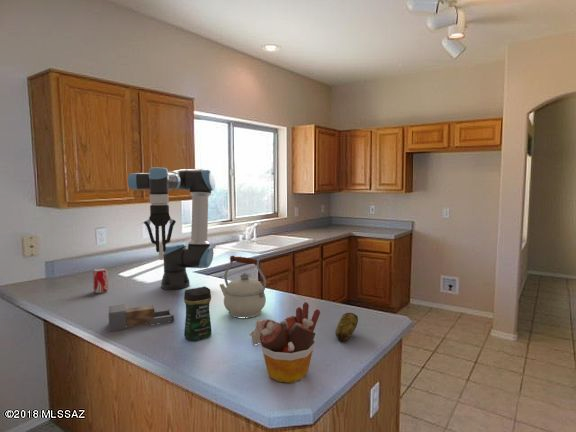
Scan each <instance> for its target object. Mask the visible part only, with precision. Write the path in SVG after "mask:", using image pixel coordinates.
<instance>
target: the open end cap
mask: <svg viewBox="0 0 576 432" xmlns="http://www.w3.org/2000/svg"><path fill="white" fill-rule="evenodd" d="M154 316H155V317H153V318H150V323H149V324H150V325H151V324H154V325H158V324H157V323H161V324H164V323H163V322H167V323H169V322H168V321H174V320H175V318H174V317H175V316H174V314H173V311H172V310H171V308H170V309H169V308H168V309H163V310H162V309H161V310H154ZM174 322H175V321H174Z"/></svg>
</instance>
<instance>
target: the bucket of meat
mask: <svg viewBox="0 0 576 432" xmlns="http://www.w3.org/2000/svg"><path fill="white" fill-rule="evenodd" d="M309 306H310V305H309V303H308V302H306V301H305V302H303V304H302V307H300V306H298V307H297V308H296V310H295V316H294V315H292V316H287V317H286V318H285V319H283V320H281V321H280V322H278V321H275V320H273V319H258V320H256V322H255V323H256V324H255V327H256V326H257V329H258V331H259V334H260V345H261V350H262V353H263V357H264V363H265V366H266V370H267V374H268V377H270V378H271V379H272V378H273V379H272V380H274V379H275V380H274V381H276V382H278V383H282V382H286V383H285V384H292V382H293V383H296V382H295V381H297V382H299V380H300V381H301V380H302V379H303V378H304V377H305V376H306V374H308V372H309V368H310V364H311V360H312V355H313V352H314V347H315V343H316V341H315V336H316V333H315V332H314V331H315V328H316V325H317V323H318V320H319V317H320V315H321V311H320V309H315V310H314V312H313V314H312V316H311V319H309Z"/></svg>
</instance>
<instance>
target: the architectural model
mask: <svg viewBox="0 0 576 432" xmlns="http://www.w3.org/2000/svg"><path fill="white" fill-rule="evenodd" d="M248 336H251V344H252V343H253V344H258V343H260V334H259V331H258V329H257V326H256V325H255V328H254V330H251V333H249V334H248ZM260 344H261V343H260Z"/></svg>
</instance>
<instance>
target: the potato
mask: <svg viewBox="0 0 576 432" xmlns="http://www.w3.org/2000/svg"><path fill="white" fill-rule="evenodd" d="M358 317H359V316H358V315H357V314H355V313H353V312H345V313H343V315H342V316H341V318H340V319H339V322H338V323H337V326H336V329H335V336H336V338H337V340H338V341H340V342H344V341H347V340H348V339H349V338H350V337H351V336H352V335H353V334H354V332H355V330H356V328H357V326H358V322H359V318H358Z"/></svg>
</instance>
